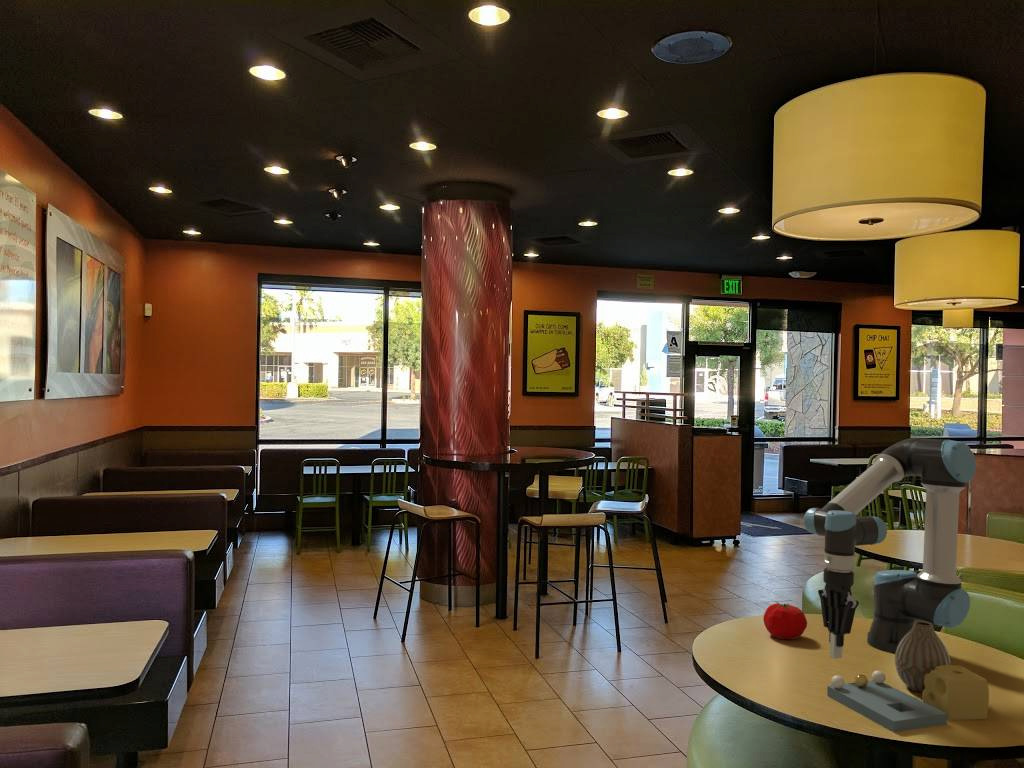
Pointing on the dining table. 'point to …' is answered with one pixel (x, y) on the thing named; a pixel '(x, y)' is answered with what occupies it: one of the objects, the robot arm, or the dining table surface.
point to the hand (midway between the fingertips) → (835, 657)
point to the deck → (888, 706)
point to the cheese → (957, 692)
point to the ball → (861, 680)
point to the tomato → (784, 621)
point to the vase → (919, 655)
